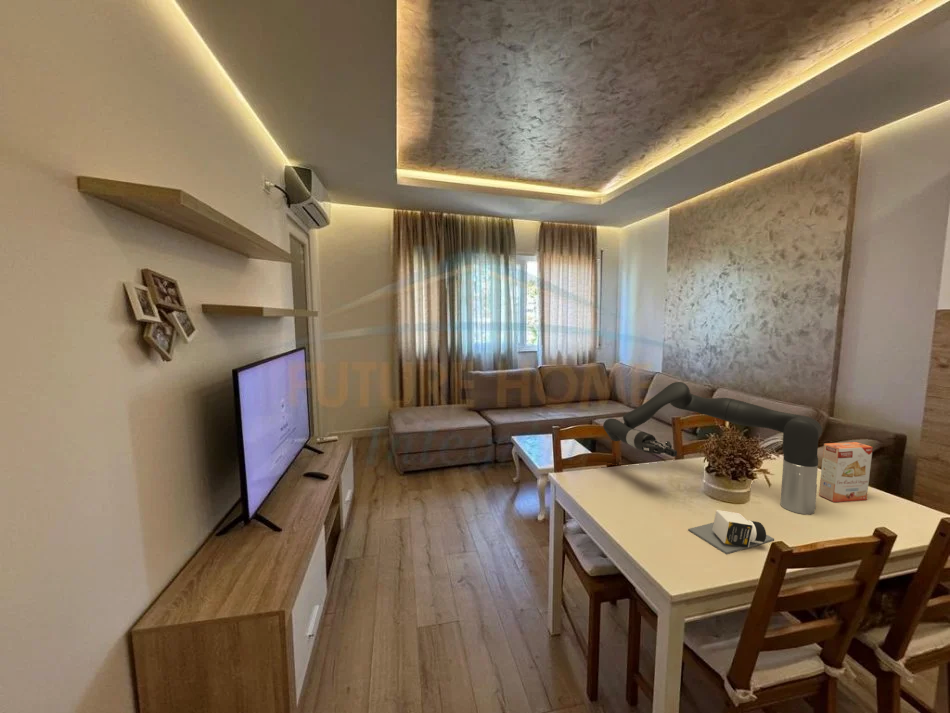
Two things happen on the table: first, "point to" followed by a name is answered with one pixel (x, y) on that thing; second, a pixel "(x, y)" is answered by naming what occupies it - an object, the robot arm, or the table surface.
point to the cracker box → (845, 471)
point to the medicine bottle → (737, 529)
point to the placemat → (711, 538)
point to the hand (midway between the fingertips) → (675, 453)
